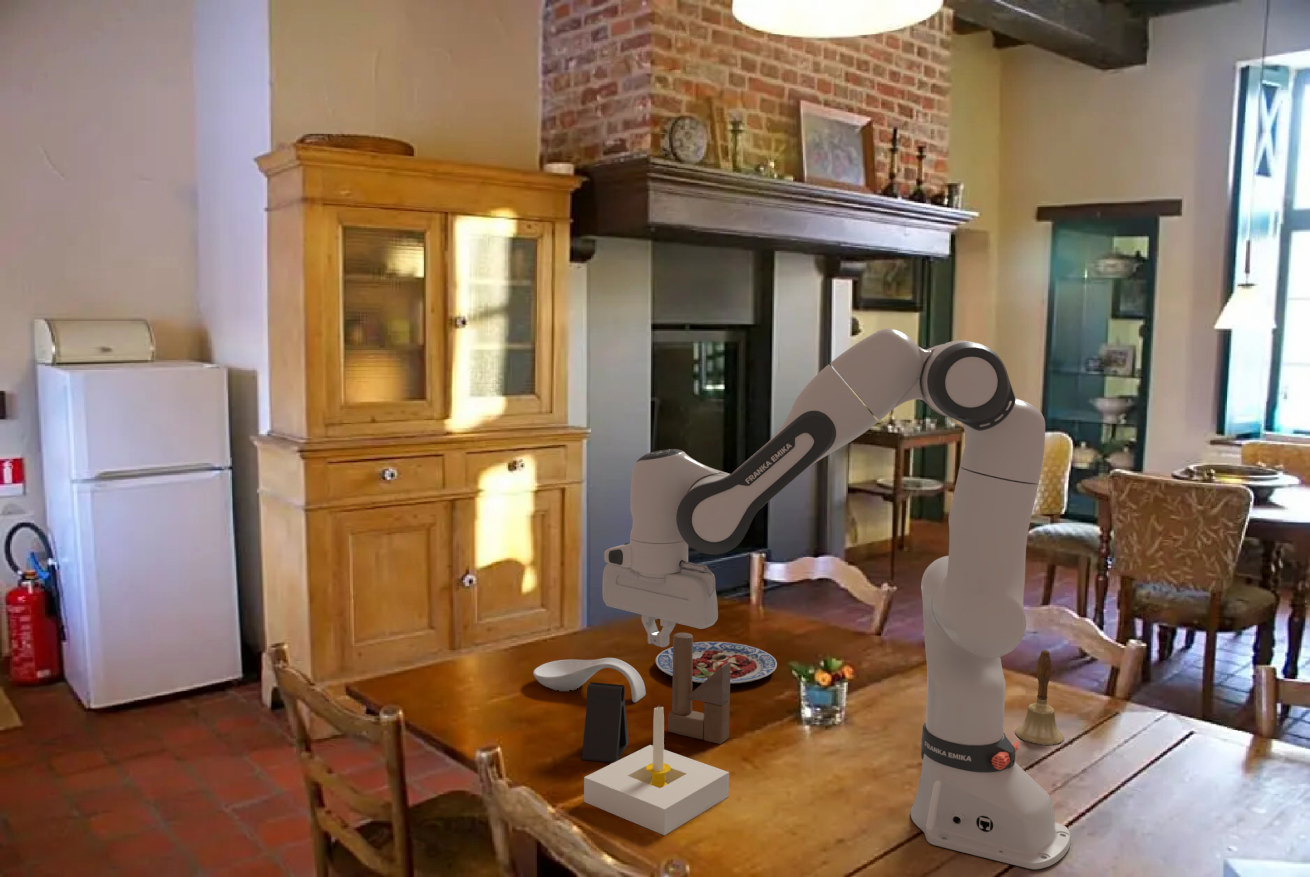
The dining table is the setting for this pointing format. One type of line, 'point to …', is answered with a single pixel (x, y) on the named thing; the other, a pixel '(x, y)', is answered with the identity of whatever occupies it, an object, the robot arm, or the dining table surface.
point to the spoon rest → (586, 674)
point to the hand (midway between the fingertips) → (658, 644)
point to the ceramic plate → (723, 661)
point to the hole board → (656, 790)
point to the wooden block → (698, 697)
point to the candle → (658, 751)
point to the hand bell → (1041, 710)
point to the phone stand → (605, 723)
